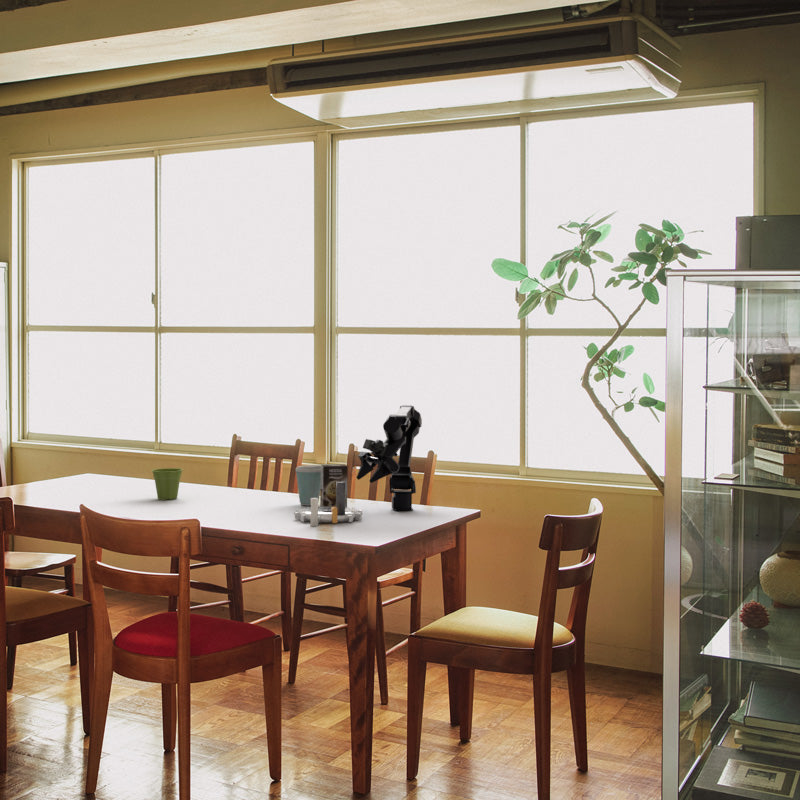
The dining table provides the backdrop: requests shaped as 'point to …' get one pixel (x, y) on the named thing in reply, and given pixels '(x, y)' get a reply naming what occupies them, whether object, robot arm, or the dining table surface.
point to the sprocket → (332, 510)
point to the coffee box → (332, 483)
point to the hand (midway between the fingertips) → (363, 480)
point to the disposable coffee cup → (308, 483)
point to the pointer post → (314, 511)
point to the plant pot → (167, 482)
